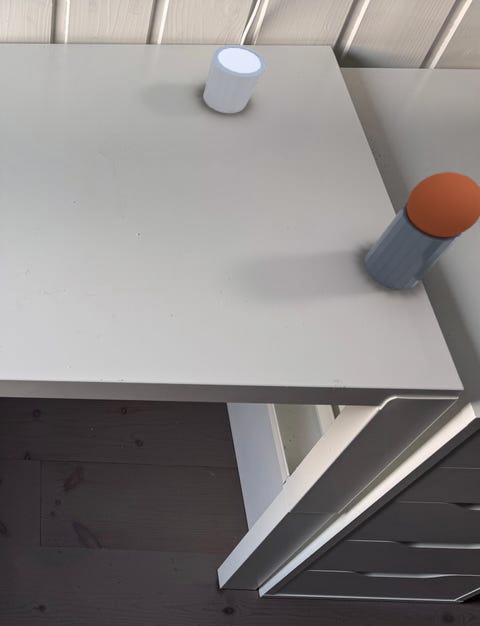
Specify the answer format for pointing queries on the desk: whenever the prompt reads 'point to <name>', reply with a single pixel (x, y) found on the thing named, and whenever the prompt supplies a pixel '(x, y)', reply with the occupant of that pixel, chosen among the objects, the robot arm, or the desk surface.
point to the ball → (444, 204)
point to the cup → (404, 253)
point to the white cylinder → (233, 78)
